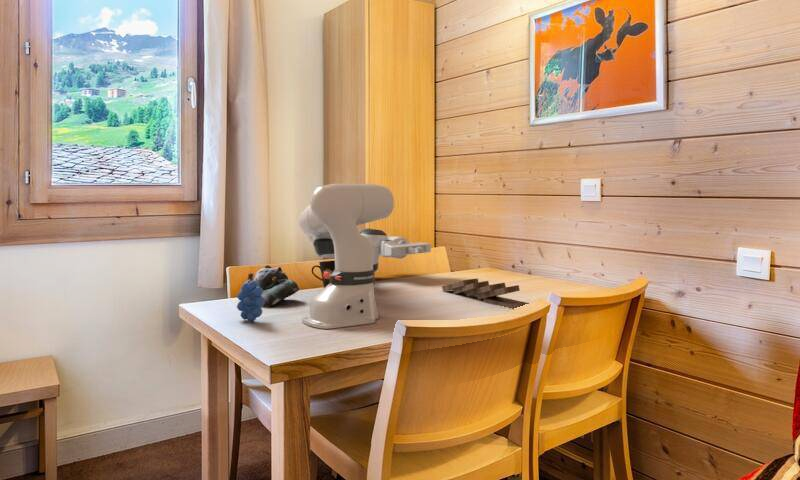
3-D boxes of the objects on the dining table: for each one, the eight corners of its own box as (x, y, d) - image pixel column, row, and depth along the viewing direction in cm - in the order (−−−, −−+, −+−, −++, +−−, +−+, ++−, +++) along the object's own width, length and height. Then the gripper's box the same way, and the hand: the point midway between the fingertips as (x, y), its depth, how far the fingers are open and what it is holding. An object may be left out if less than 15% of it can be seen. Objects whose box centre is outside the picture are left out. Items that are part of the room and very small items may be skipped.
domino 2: (453, 294, 199) (473, 288, 185) (452, 289, 199) (472, 283, 185) (468, 291, 201) (489, 286, 187) (467, 286, 201) (488, 280, 187)
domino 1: (442, 291, 203) (463, 285, 190) (442, 286, 204) (462, 280, 190) (456, 289, 206) (478, 283, 193) (456, 284, 206) (477, 278, 193)
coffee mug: (349, 286, 208) (347, 259, 208) (331, 288, 201) (329, 260, 202) (328, 287, 216) (326, 261, 216) (311, 289, 209) (309, 262, 210)
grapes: (276, 322, 158) (275, 280, 157) (256, 327, 153) (255, 283, 152) (251, 316, 166) (250, 276, 165) (231, 320, 161) (230, 279, 159)
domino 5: (483, 303, 185) (518, 311, 173) (483, 298, 185) (518, 306, 173) (496, 301, 189) (531, 309, 177) (496, 295, 189) (531, 303, 177)
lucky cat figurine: (264, 309, 174) (245, 269, 175) (255, 316, 184) (236, 279, 185) (305, 290, 182) (286, 252, 184) (294, 298, 192) (276, 262, 194)
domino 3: (467, 296, 193) (490, 290, 179) (466, 291, 193) (489, 285, 179) (481, 293, 195) (505, 287, 182) (480, 288, 195) (504, 282, 182)
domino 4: (477, 299, 188) (504, 293, 174) (476, 294, 188) (503, 287, 175) (492, 296, 190) (519, 290, 177) (491, 291, 191) (518, 285, 178)
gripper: (418, 253, 234) (440, 256, 223) (378, 257, 221) (400, 261, 210) (418, 238, 233) (440, 240, 222) (378, 241, 221) (400, 244, 210)
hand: (420, 250), depth 216 cm, fingers closed
